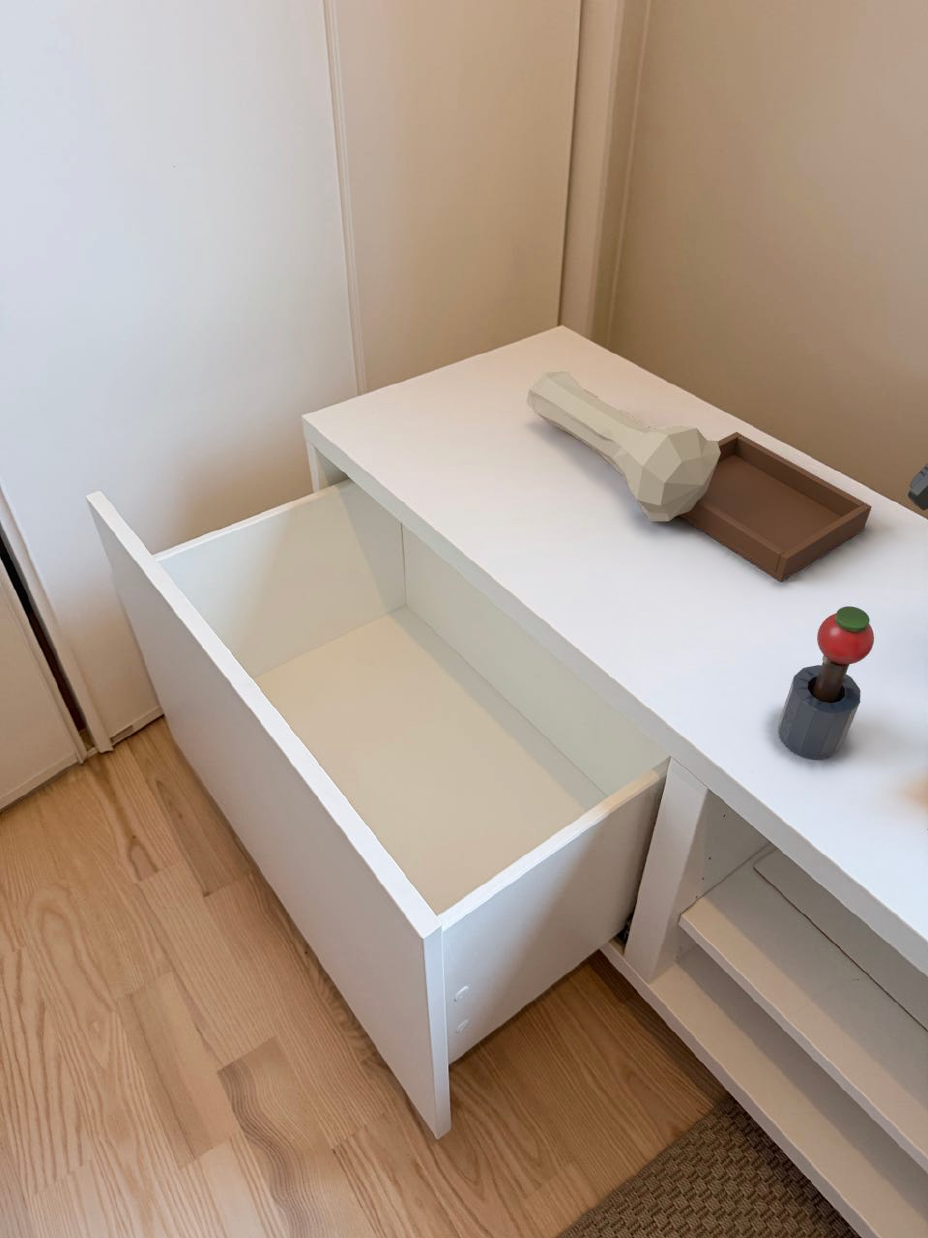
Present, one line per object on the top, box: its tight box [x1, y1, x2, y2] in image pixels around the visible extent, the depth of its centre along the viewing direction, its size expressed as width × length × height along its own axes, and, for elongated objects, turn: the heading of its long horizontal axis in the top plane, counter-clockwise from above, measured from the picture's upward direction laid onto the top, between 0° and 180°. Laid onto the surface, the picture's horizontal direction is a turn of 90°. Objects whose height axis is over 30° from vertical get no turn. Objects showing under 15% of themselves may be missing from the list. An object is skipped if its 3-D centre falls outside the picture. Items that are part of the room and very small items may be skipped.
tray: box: [677, 431, 872, 583], centre depth 85 cm, size 15×11×3 cm
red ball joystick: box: [811, 605, 875, 703], centre depth 63 cm, size 3×3×11 cm
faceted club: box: [525, 370, 721, 522], centre depth 89 cm, size 9×8×25 cm
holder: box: [777, 664, 861, 761], centre depth 65 cm, size 4×4×5 cm
